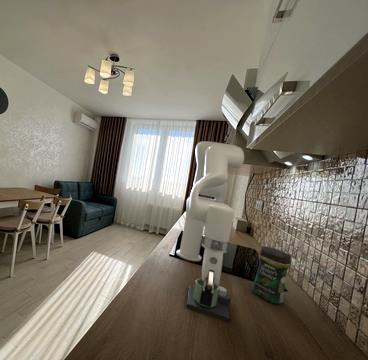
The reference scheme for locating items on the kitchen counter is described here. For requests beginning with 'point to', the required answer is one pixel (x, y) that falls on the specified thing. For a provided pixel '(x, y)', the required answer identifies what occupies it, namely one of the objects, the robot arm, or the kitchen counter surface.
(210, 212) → the robot arm
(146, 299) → the kitchen counter surface
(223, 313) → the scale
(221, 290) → the power button
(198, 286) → the green cup
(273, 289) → the coffee jar
